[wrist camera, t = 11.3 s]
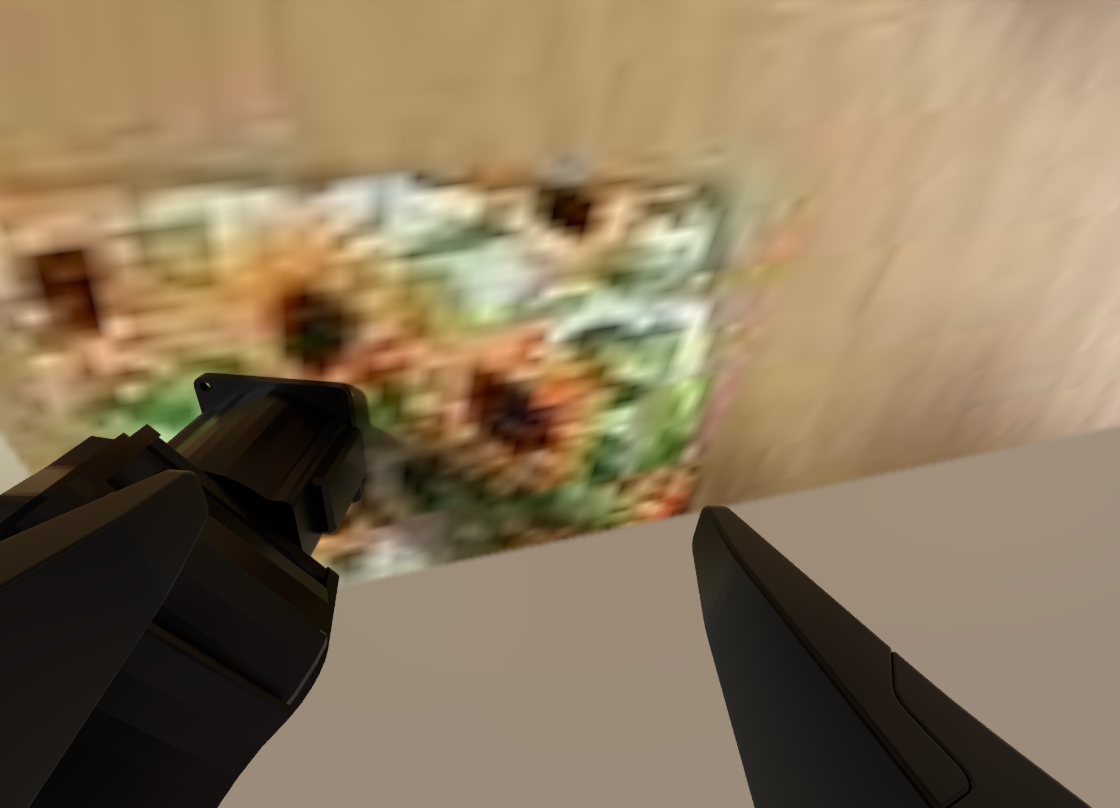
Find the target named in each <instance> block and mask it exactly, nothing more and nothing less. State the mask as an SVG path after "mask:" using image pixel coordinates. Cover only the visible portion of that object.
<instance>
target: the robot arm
mask: <svg viewBox="0 0 1120 808" xmlns="http://www.w3.org/2000/svg"><path fill="white" fill-rule="evenodd" d="M205 382H206V383H209V384H210V385H211V386H212V388H210V387H209V386H207V384H206V383H205ZM194 388H195V391H196V394H197V398H198V401H199V405H200V408H201V411H202V414H201V415H199V416H198V417H197V418H196V419H195V420H193V421H192V422H191V423H190V424H189V425H188V426H186V427H185V428H184V429H183V430H182V431H180V432H179V433H178V434H177V435H176V436H175V437H173V438H172V439H171V440H170V441H169V442H168V443H166V442H164V441H163V440H162V439H160V438H159V436H160V435H161V434H159V433H158V432H157V431H156V430H154V429H153V428H152V427H151V426H149V425H148V424H146V425H145V426H144V427H142V428H141V429H140V430H138V431H137V432H136V433H134V434H133V435H132V436H130V437H129V436H128V435H126V434H125V433H122V434H121V435H120V436H118V437H117V438H115V439H108V438H101V437H95V436H91V437H89V438H88V439H86V440H85V441H83V442H82V443H81V444H79V445H78V446H76V447H75V448H73V449H72V450H71V451H69V452H68V453H66V454H65V455H63V456H62V457H60V458H59V459H57V460H56V461H55V462H53V463H52V464H50V465H49V466H47V467H45V468H44V469H42V470H41V471H39V472H37V473H36V474H34V475H32V476H31V477H29V478H27V479H26V480H24V481H22V482H21V483H19V484H18V485H16V486H14V487H13V488H11V489H9V490H8V491H6V492H4V493H3V494H1V495H0V808H217V807H218V806H219V804H220V803H221V801H222V800H223V798H224V797H225V795H226V794H227V793H228V791H229V790H230V788H231V787H232V785H233V784H234V782H235V781H236V779H237V778H238V777H239V775H240V774H241V773H242V772H243V770H244V769H245V768H246V766H247V765H248V764H249V763H250V761H251V760H252V759H253V758H254V756H255V755H256V754H257V753H258V751H259V750H260V749H261V747H262V746H263V745H264V744H265V743H266V742H267V741H268V740H269V739H270V738H271V737H272V736H273V735H274V734H275V733H276V732H277V730H278V729H279V728H280V727H281V726H282V725H283V724H284V723H285V722H286V721H287V720H288V719H289V718H290V716H291V715H292V714H293V713H294V711H295V710H296V709H297V708H298V707H299V705H300V704H301V703H302V701H303V700H304V698H305V697H306V696H307V694H308V693H309V691H310V690H311V688H312V686H313V685H314V683H315V681H316V679H317V677H318V675H319V674H320V671H321V669H322V667H323V664H324V662H325V659H326V655H327V651H328V646H329V640H330V633H331V626H332V620H333V613H334V607H335V600H336V594H337V587H338V581H339V575H338V574H337V573H336V572H334V571H333V570H332V569H331V568H329V567H327V568H325V567H324V566H322V565H321V564H320V563H318V562H317V561H316V560H315V559H313V558H312V557H311V555H312V553H313V551H314V549H315V548H316V546H317V544H318V542H319V540H320V538H321V537H322V535H323V534H333V533H334V532H335V531H336V530H337V529H338V527H339V525H340V523H341V521H342V519H343V517H344V516H345V514H346V512H347V510H348V508H349V506H350V504H351V503H352V502H357V501H359V499H360V498H361V496H362V494H363V482H362V481H363V479H364V477H365V475H366V466H365V458H364V450H363V441H362V433H361V431H360V430H359V429H358V428H357V427H356V426H355V418H354V410H353V402H352V394H351V391H350V389H349V388H348V387H347V386H346V385H344V384H341V383H334V382H321V381H307V380H294V379H281V378H268V377H255V376H242V375H229V374H216V373H204V374H203V375H201V376H200V377H198V378H197V379H196V380H195V381H194ZM334 392H338V393H340V394H341V395H342V397H343V398H339V397H337V396H336V395H335V394H334ZM692 550H693V557H694V563H695V569H696V575H697V581H698V588H699V594H700V600H701V607H702V613H703V618H704V624H705V629H706V633H707V637H708V641H709V645H710V648H711V652H712V655H713V659H714V663H715V666H716V670H717V673H718V677H719V681H720V684H721V688H722V692H723V695H724V699H725V702H726V706H727V710H728V713H729V717H730V720H731V724H732V727H733V731H734V735H735V738H736V742H737V746H738V749H739V753H740V756H741V760H742V764H743V767H744V771H745V775H746V778H747V782H748V785H749V789H750V793H751V796H752V800H753V803H754V807H755V808H1091V807H1090V806H1089V805H1088V804H1086V803H1085V802H1084V801H1082V800H1081V799H1080V798H1078V797H1077V796H1076V795H1075V794H1073V793H1072V792H1070V791H1069V790H1068V789H1067V788H1065V787H1064V786H1063V785H1061V784H1060V783H1059V782H1057V781H1056V780H1055V779H1054V778H1052V777H1051V776H1050V775H1048V774H1047V773H1046V772H1044V771H1043V770H1042V769H1041V768H1039V767H1038V766H1037V765H1035V764H1034V763H1033V762H1031V761H1030V760H1029V759H1027V758H1026V757H1025V756H1023V755H1022V754H1021V753H1020V752H1018V751H1017V750H1016V749H1014V748H1013V747H1012V746H1010V745H1009V744H1008V743H1007V742H1005V741H1004V740H1003V739H1001V738H1000V737H999V736H997V735H996V734H995V733H994V732H992V731H991V730H989V728H987V727H986V726H985V725H983V724H982V723H981V722H980V721H978V720H977V719H976V718H975V717H973V716H972V715H971V714H969V713H968V712H967V711H966V710H964V709H963V708H962V707H961V706H959V705H958V704H957V703H955V702H954V701H953V700H952V699H951V698H949V697H948V696H947V695H946V694H945V693H943V692H942V691H941V690H940V689H938V688H937V687H936V686H935V685H934V684H932V683H931V682H930V681H929V680H928V679H927V678H925V677H924V676H923V675H922V674H921V673H919V672H918V671H917V670H916V669H915V668H914V667H912V666H911V665H910V664H909V663H908V662H906V661H905V660H904V659H903V658H902V657H901V656H900V655H898V654H897V653H896V652H891V648H890V647H889V646H888V645H887V644H885V643H884V642H883V641H882V640H881V639H880V638H879V637H877V636H876V635H875V634H874V633H873V632H871V631H870V630H869V629H868V628H867V627H866V626H865V625H863V624H862V623H861V622H860V621H859V620H858V619H856V618H855V617H854V616H853V615H852V614H851V613H850V612H848V611H847V610H846V609H845V608H844V607H843V606H841V605H840V604H839V603H838V602H837V601H836V600H834V599H833V598H832V597H831V596H830V595H829V594H827V593H826V592H825V591H824V590H823V589H822V588H821V587H819V586H818V585H817V584H816V583H815V582H814V581H812V580H811V579H810V578H809V577H808V576H807V575H805V574H804V573H803V572H802V571H800V569H798V568H797V567H796V566H795V565H794V564H793V563H792V562H790V561H789V560H788V559H787V558H786V557H785V556H783V555H782V554H781V553H780V552H779V551H778V550H776V549H775V548H774V547H773V546H772V545H771V544H769V543H768V542H767V541H766V540H765V539H764V538H763V537H761V536H760V535H759V534H758V533H757V532H756V531H754V530H753V529H752V528H751V527H750V526H749V525H747V524H746V523H745V522H744V521H743V520H742V519H740V518H739V517H738V516H737V515H736V514H735V513H734V512H732V511H731V510H730V509H729V508H727V507H724V506H711V505H707V506H705V507H704V508H703V509H702V511H701V514H700V517H699V520H698V524H697V527H696V530H695V533H694V536H693V542H692Z"/></svg>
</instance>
